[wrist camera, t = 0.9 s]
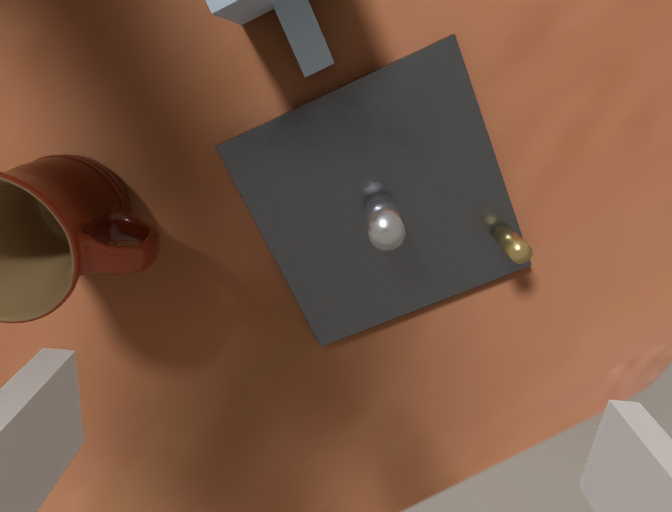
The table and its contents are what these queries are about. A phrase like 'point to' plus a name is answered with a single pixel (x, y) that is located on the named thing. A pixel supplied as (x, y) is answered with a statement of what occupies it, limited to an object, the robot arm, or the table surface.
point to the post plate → (371, 157)
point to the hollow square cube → (284, 27)
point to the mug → (64, 233)
